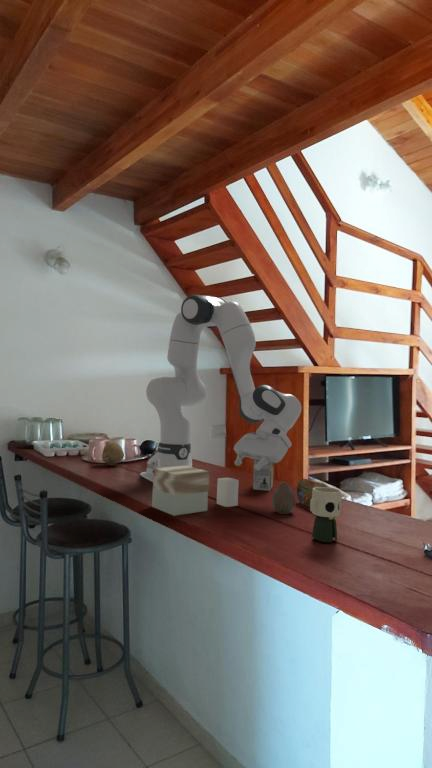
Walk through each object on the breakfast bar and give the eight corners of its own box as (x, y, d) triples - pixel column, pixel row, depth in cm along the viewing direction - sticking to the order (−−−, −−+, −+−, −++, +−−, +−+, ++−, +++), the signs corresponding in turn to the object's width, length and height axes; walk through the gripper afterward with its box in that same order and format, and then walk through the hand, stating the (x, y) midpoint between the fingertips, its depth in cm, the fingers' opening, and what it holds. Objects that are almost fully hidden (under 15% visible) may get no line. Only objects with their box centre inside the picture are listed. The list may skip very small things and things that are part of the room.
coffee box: (255, 484, 208) (257, 442, 208) (272, 486, 207) (274, 443, 207) (252, 489, 199) (254, 445, 199) (270, 491, 198) (272, 446, 198)
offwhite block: (216, 503, 176) (217, 478, 176) (227, 502, 179) (228, 477, 178) (226, 507, 172) (227, 481, 172) (237, 505, 175) (238, 480, 174)
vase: (296, 511, 170) (298, 482, 170) (292, 516, 164) (293, 486, 163) (274, 508, 172) (275, 480, 172) (269, 513, 166) (270, 484, 166)
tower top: (153, 487, 168) (153, 468, 168) (185, 484, 176) (186, 465, 176) (175, 495, 159) (176, 474, 159) (208, 491, 166) (209, 471, 166)
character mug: (319, 547, 135) (322, 494, 134) (298, 539, 140) (301, 488, 140) (349, 541, 141) (352, 490, 141) (328, 534, 147) (331, 485, 146)
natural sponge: (127, 465, 240) (128, 442, 240) (117, 468, 231) (118, 444, 231) (108, 463, 243) (109, 440, 242) (98, 466, 234) (98, 442, 234)
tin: (295, 501, 184) (296, 476, 183) (303, 501, 185) (304, 475, 185) (322, 512, 170) (323, 485, 170) (330, 512, 171) (332, 484, 171)
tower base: (151, 507, 169) (152, 487, 169) (184, 503, 176) (185, 484, 176) (173, 516, 159) (174, 495, 159) (207, 511, 166) (208, 491, 166)
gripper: (244, 425, 192) (220, 455, 186) (286, 432, 176) (262, 465, 170) (253, 438, 195) (230, 468, 189) (295, 445, 179) (272, 478, 173)
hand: (246, 466), depth 179 cm, fingers open, 8 cm apart
